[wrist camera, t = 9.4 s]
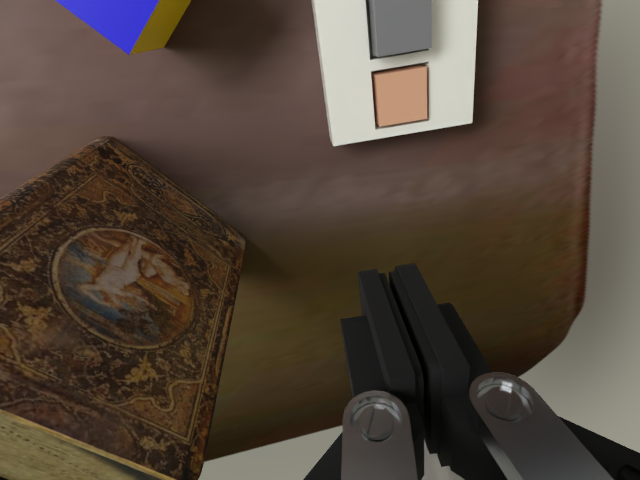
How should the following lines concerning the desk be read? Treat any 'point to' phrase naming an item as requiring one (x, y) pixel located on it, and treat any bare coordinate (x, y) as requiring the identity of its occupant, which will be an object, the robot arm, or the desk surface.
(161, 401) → the book
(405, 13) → the charcoal button
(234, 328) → the desk surface
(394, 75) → the terracotta button
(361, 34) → the button panel
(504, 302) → the desk surface
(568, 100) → the desk surface
